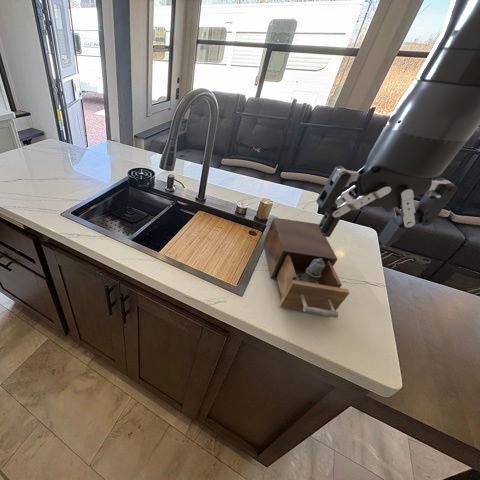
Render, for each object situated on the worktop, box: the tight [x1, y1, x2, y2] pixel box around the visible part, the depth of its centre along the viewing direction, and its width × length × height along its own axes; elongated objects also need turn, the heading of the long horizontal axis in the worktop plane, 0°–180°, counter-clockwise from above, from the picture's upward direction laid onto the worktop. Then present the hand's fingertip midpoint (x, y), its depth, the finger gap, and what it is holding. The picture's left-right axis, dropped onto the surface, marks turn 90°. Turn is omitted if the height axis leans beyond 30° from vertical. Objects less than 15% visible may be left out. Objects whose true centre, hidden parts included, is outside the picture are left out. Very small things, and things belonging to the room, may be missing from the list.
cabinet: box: [262, 217, 338, 280], centre depth 76 cm, size 17×14×11 cm
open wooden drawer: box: [276, 253, 350, 319], centre depth 65 cm, size 20×12×9 cm, turn 169°
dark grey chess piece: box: [296, 258, 325, 284], centre depth 64 cm, size 6×6×12 cm
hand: (353, 238), depth 39 cm, fingers open, 8 cm apart
